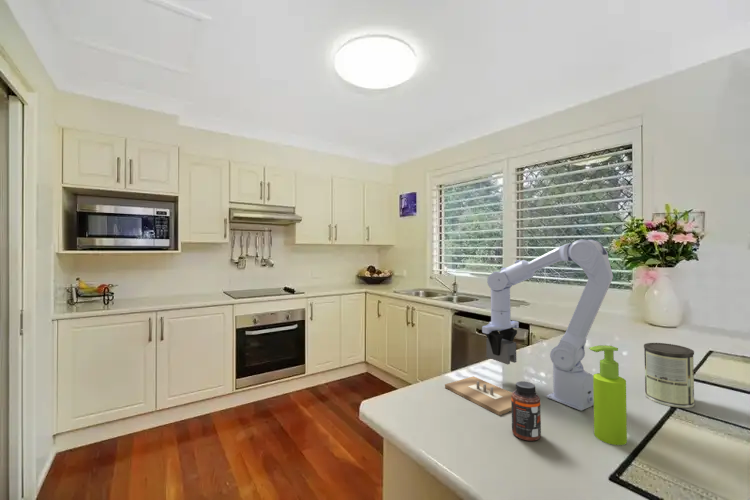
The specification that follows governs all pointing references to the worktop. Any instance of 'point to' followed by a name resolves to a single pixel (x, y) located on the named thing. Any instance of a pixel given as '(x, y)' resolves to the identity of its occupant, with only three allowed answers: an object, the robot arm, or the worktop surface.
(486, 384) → the pin board
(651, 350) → the coffee can
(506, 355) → the block
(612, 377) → the soap dispenser
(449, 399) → the worktop surface
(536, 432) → the supplement bottle
